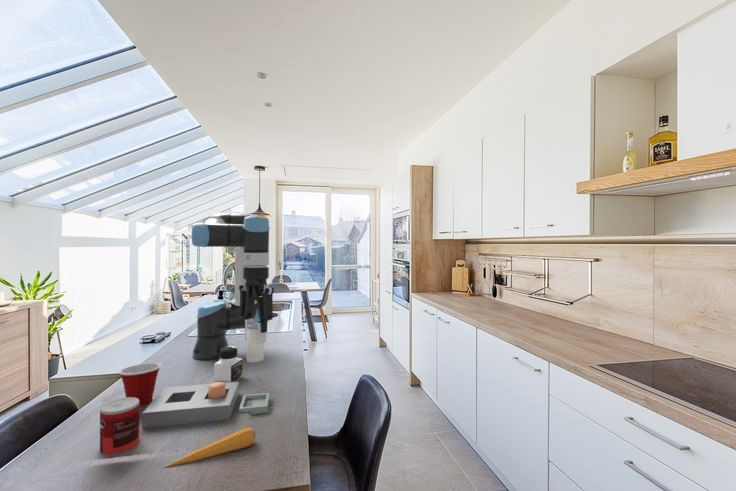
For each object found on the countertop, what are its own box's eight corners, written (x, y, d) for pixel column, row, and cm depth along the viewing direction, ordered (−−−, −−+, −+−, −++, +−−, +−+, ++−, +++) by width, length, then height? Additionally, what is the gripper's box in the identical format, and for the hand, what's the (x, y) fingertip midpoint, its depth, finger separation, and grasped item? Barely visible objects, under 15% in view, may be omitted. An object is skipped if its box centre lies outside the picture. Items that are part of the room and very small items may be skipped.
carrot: (254, 443, 85) (251, 424, 86) (257, 445, 81) (254, 425, 83) (164, 477, 75) (162, 455, 77) (162, 481, 72) (161, 458, 73)
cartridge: (242, 360, 101) (243, 324, 101) (256, 355, 105) (256, 321, 105) (253, 363, 98) (254, 327, 98) (267, 358, 103) (267, 323, 103)
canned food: (113, 439, 84) (113, 397, 84) (146, 438, 85) (146, 396, 85) (91, 459, 77) (91, 412, 77) (127, 457, 78) (127, 411, 77)
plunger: (210, 401, 102) (210, 382, 102) (227, 400, 103) (227, 381, 103) (206, 409, 97) (206, 389, 97) (223, 407, 98) (223, 387, 98)
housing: (165, 403, 104) (165, 387, 104) (238, 396, 109) (238, 381, 109) (142, 431, 88) (142, 412, 88) (229, 422, 93) (229, 405, 93)
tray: (243, 401, 106) (243, 395, 106) (269, 398, 107) (269, 392, 107) (238, 415, 97) (238, 408, 97) (267, 412, 99) (267, 406, 99)
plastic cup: (163, 394, 110) (163, 358, 109) (157, 409, 100) (158, 370, 100) (123, 400, 105) (123, 363, 105) (113, 417, 95) (114, 376, 95)
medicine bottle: (231, 384, 118) (231, 351, 118) (213, 382, 119) (213, 350, 119) (242, 376, 125) (242, 345, 125) (225, 375, 126) (226, 344, 126)
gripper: (227, 265, 104) (226, 339, 104) (266, 268, 94) (265, 349, 94) (247, 264, 110) (246, 334, 110) (285, 267, 100) (285, 343, 100)
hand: (255, 341), depth 102 cm, fingers closed on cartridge, 5 cm apart
